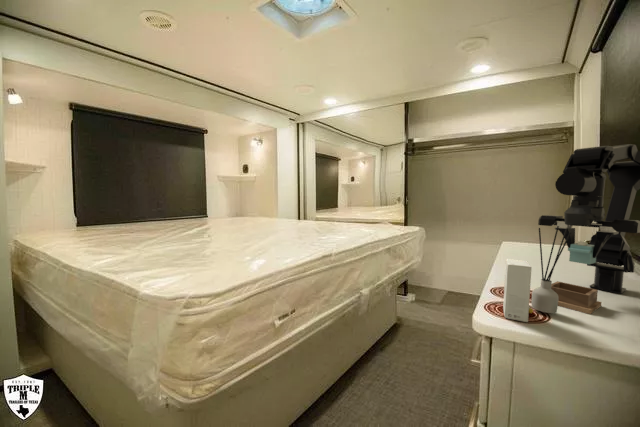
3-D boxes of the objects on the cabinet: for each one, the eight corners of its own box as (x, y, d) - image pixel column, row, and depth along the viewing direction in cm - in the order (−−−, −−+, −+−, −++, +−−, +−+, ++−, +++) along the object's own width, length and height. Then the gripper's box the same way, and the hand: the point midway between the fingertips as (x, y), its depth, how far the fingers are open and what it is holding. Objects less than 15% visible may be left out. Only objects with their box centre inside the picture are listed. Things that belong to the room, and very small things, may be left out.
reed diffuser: (547, 306, 67) (554, 224, 66) (579, 318, 61) (589, 228, 59) (513, 309, 65) (520, 224, 63) (543, 323, 58) (552, 228, 56)
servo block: (577, 258, 77) (579, 239, 76) (597, 261, 73) (599, 241, 73) (566, 262, 72) (568, 241, 72) (587, 265, 69) (589, 244, 68)
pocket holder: (554, 294, 76) (555, 280, 75) (601, 306, 68) (602, 290, 68) (541, 301, 71) (542, 285, 70) (590, 314, 63) (591, 297, 63)
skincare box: (528, 323, 58) (532, 267, 57) (504, 318, 60) (507, 264, 59) (525, 312, 63) (528, 260, 62) (502, 308, 65) (505, 258, 64)
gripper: (532, 195, 75) (527, 252, 76) (635, 196, 59) (628, 267, 60) (548, 196, 81) (544, 248, 82) (645, 197, 65) (639, 262, 66)
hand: (582, 256), depth 72 cm, fingers closed on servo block, 4 cm apart
